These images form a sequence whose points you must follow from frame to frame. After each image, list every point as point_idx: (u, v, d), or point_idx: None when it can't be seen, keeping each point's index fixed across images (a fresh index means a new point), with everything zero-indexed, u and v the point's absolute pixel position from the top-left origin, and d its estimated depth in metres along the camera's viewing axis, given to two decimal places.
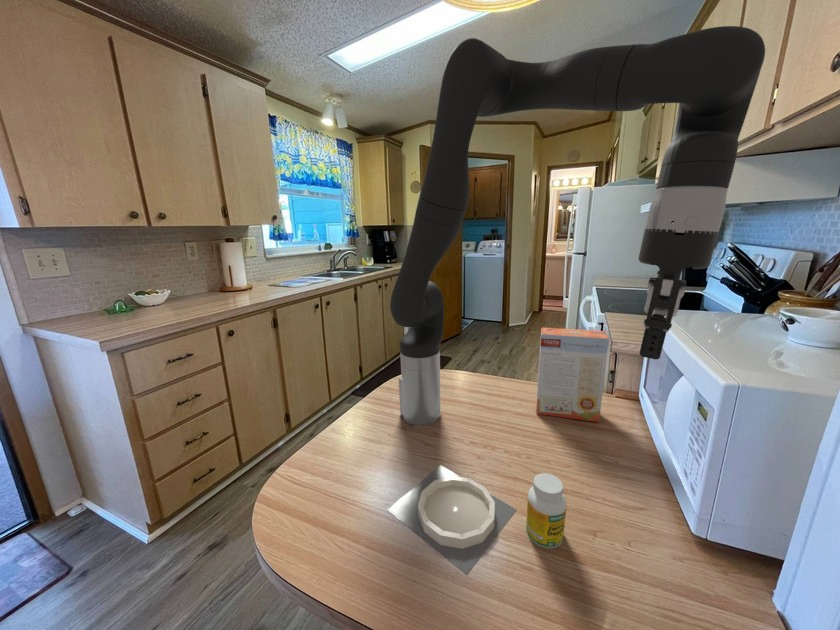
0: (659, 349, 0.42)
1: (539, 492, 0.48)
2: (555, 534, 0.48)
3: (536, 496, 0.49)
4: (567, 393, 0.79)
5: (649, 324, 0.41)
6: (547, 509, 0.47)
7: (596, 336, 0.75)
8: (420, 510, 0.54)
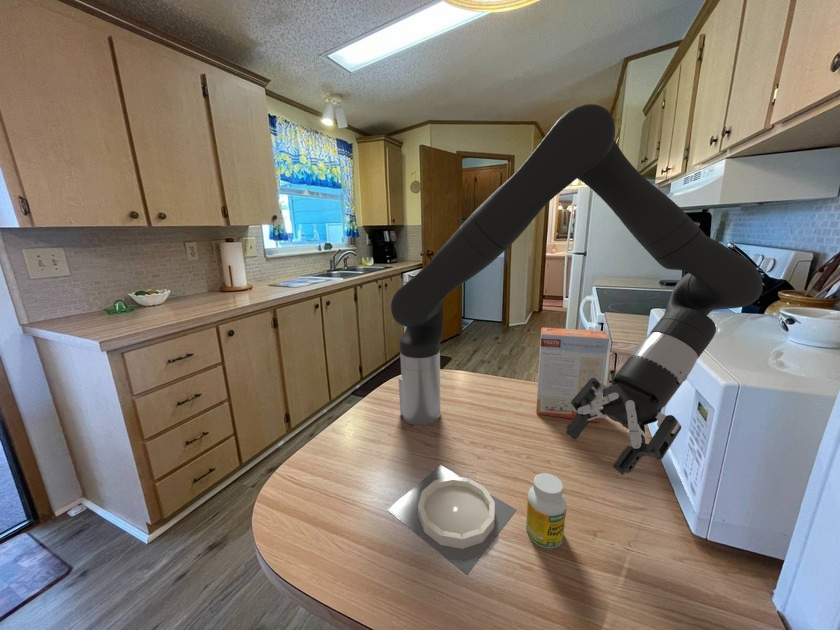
0: None
1: (539, 492, 0.48)
2: (555, 534, 0.48)
3: (536, 496, 0.49)
4: (567, 393, 0.79)
5: (656, 453, 0.45)
6: (547, 509, 0.47)
7: (596, 336, 0.75)
8: (420, 510, 0.54)
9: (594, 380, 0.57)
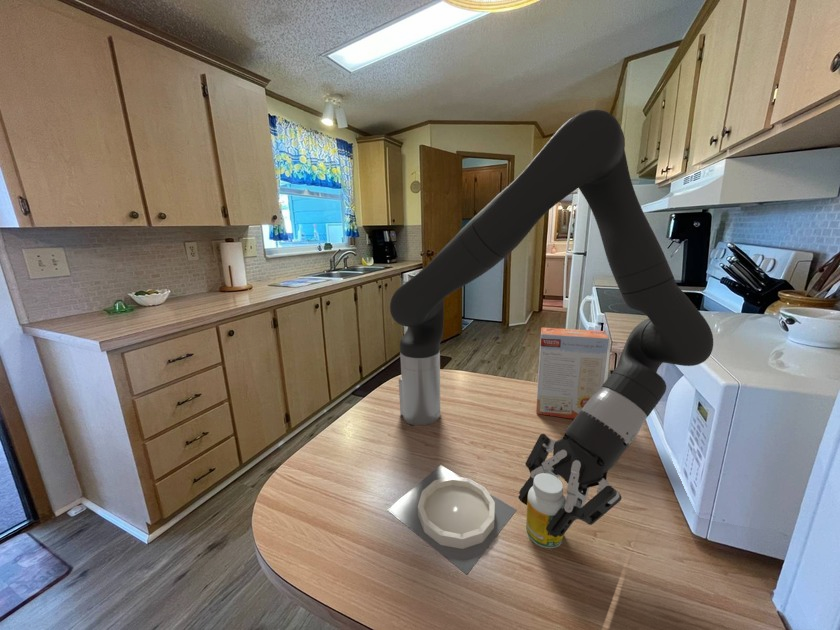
0: None
1: (539, 492, 0.48)
2: None
3: (536, 496, 0.49)
4: (567, 393, 0.79)
5: (585, 519, 0.44)
6: (547, 509, 0.47)
7: (596, 336, 0.75)
8: (420, 510, 0.54)
9: (543, 436, 0.55)
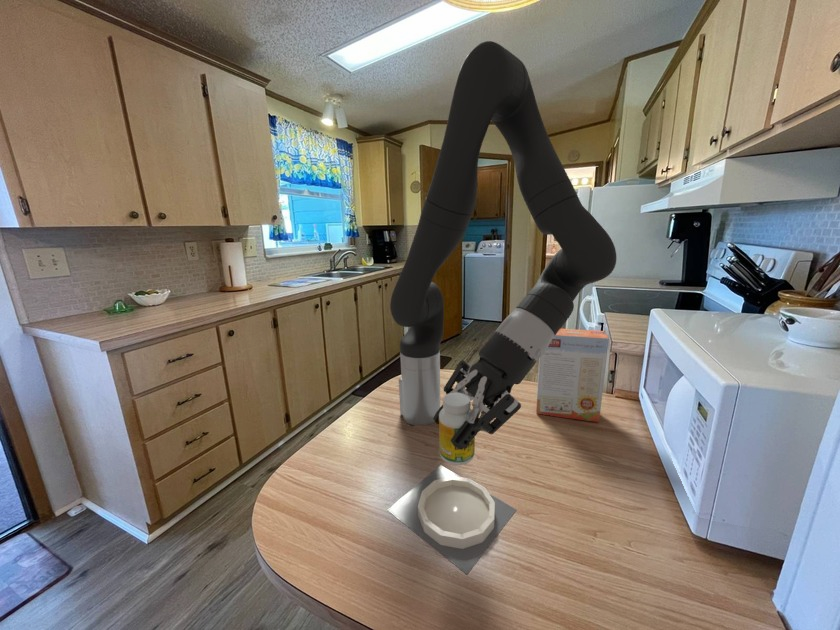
0: None
1: (446, 406, 0.48)
2: (463, 448, 0.49)
3: (445, 412, 0.50)
4: (567, 393, 0.79)
5: (484, 426, 0.45)
6: (453, 422, 0.48)
7: (596, 336, 0.75)
8: (420, 510, 0.54)
9: (462, 362, 0.56)
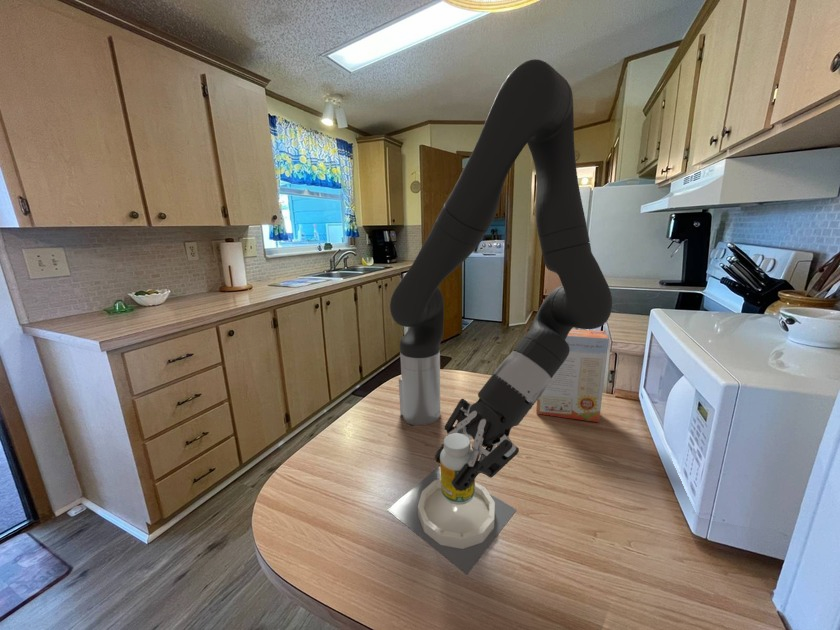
0: None
1: (447, 449, 0.50)
2: None
3: (446, 453, 0.51)
4: (567, 393, 0.79)
5: (484, 471, 0.47)
6: (453, 465, 0.50)
7: (596, 336, 0.75)
8: (420, 510, 0.54)
9: (462, 401, 0.58)
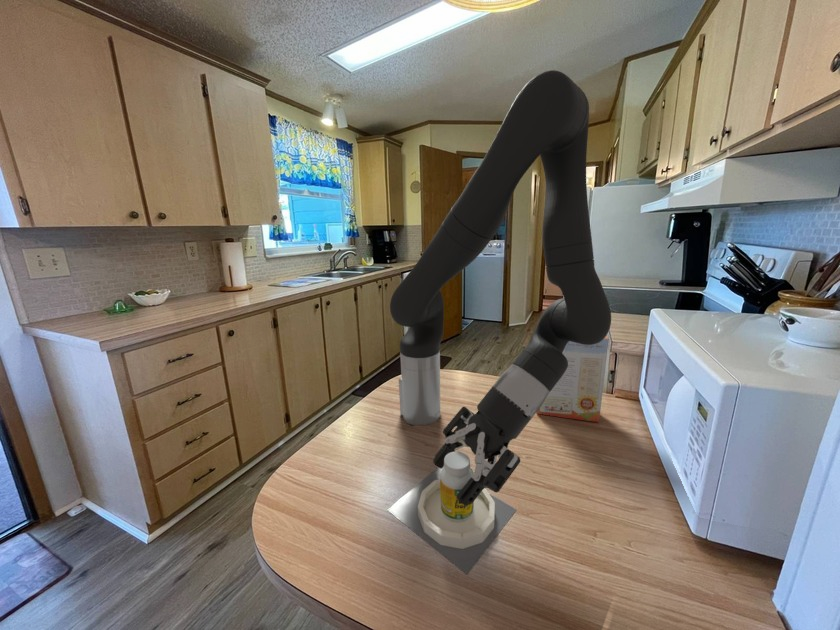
0: None
1: (447, 468, 0.51)
2: (462, 507, 0.52)
3: (446, 472, 0.52)
4: (567, 393, 0.79)
5: (489, 486, 0.47)
6: (453, 484, 0.51)
7: None
8: (420, 510, 0.54)
9: (464, 409, 0.58)
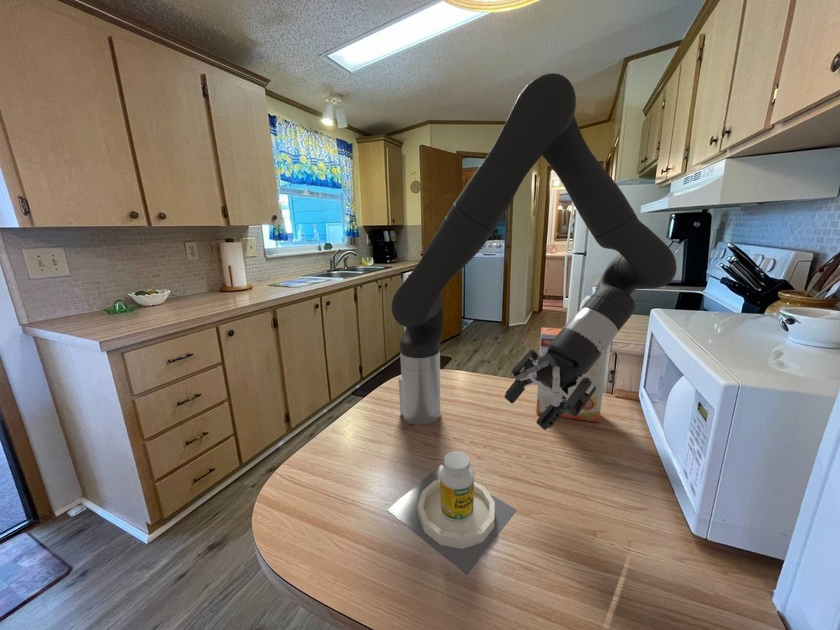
0: None
1: (446, 468, 0.51)
2: (462, 507, 0.52)
3: (445, 472, 0.52)
4: None
5: (570, 409, 0.52)
6: (453, 484, 0.51)
7: None
8: (420, 510, 0.54)
9: (532, 351, 0.63)
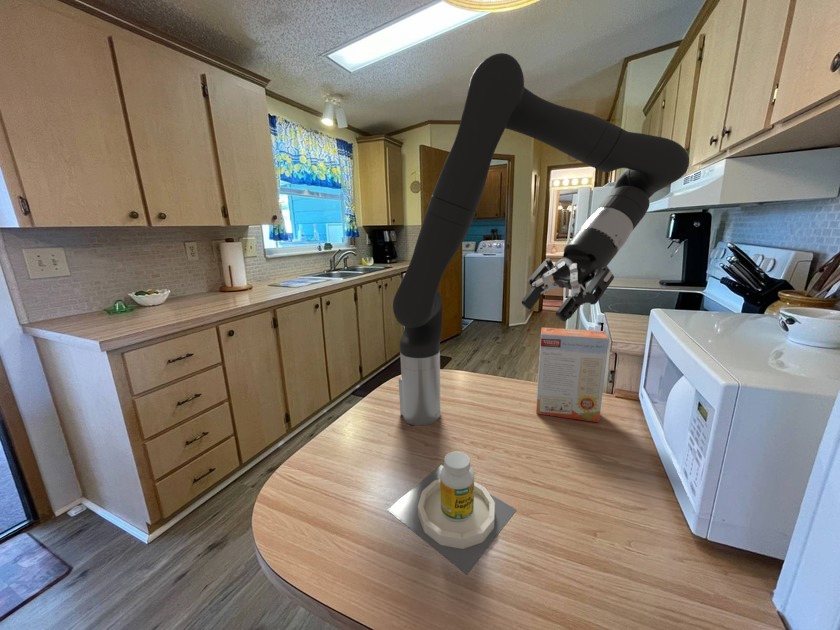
0: None
1: (447, 468, 0.51)
2: (462, 507, 0.52)
3: (446, 472, 0.52)
4: (567, 393, 0.79)
5: (590, 295, 0.52)
6: (453, 483, 0.51)
7: (597, 336, 0.75)
8: (420, 510, 0.54)
9: (548, 260, 0.64)
